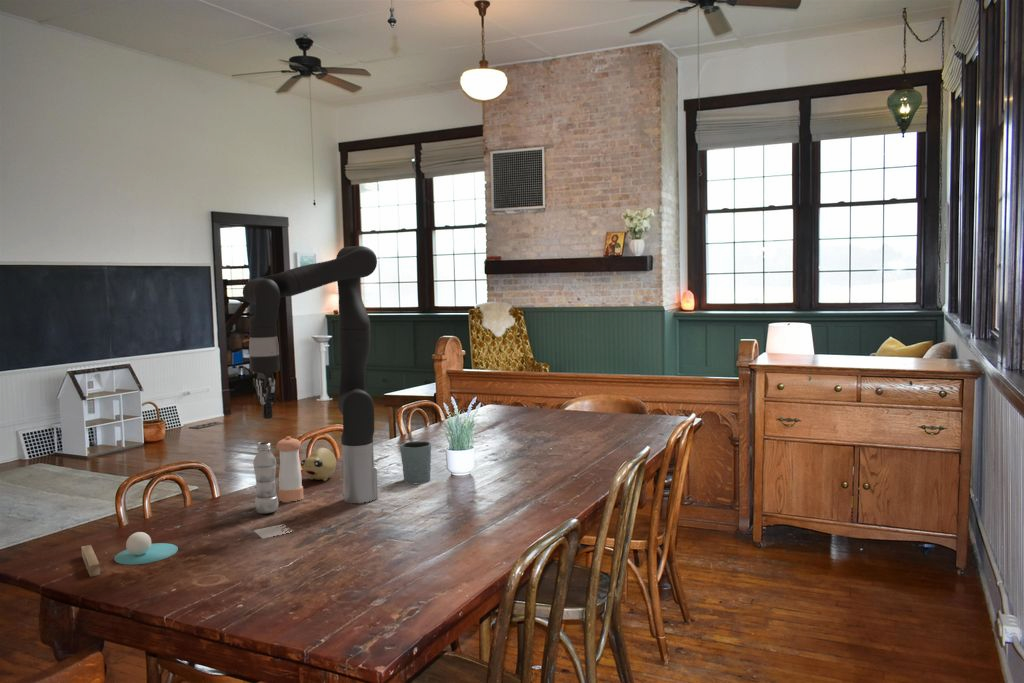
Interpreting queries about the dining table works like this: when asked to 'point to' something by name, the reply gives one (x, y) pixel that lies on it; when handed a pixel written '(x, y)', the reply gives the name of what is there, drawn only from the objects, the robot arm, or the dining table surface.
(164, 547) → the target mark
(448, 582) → the dining table surface
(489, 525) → the dining table surface
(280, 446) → the pepper shaker
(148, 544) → the ball
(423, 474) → the dark grey pot
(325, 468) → the yellow plush toy
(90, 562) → the bar
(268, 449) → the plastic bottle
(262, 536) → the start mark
